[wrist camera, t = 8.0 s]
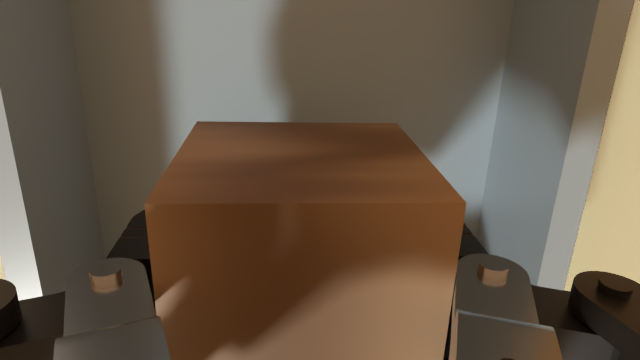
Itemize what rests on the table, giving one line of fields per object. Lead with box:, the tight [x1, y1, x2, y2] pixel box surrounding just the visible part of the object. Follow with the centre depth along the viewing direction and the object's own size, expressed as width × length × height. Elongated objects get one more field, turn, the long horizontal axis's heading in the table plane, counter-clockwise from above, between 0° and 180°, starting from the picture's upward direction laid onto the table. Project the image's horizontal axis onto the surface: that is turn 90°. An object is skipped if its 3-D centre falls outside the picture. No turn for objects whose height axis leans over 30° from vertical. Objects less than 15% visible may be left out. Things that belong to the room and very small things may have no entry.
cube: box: [144, 121, 467, 360], centre depth 11 cm, size 5×5×5 cm
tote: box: [0, 0, 634, 301], centre depth 13 cm, size 15×20×5 cm
